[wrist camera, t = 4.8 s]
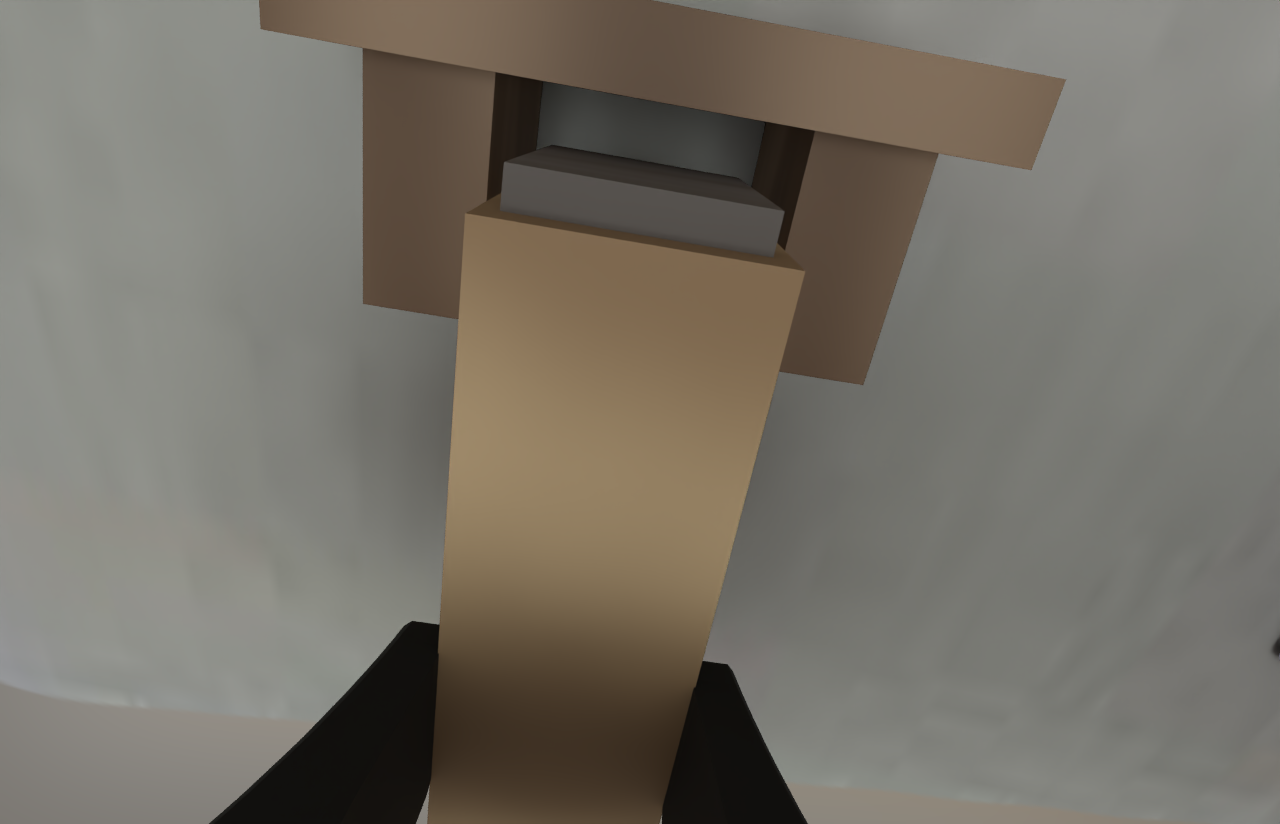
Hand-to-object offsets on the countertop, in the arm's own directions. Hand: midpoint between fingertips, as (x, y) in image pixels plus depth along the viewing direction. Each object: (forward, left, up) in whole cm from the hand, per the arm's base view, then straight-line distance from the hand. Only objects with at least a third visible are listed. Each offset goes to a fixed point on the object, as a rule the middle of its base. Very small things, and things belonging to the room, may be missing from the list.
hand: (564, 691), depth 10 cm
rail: (0, 0, -4) cm, 4 cm away
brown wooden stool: (0, -6, -9) cm, 11 cm away
